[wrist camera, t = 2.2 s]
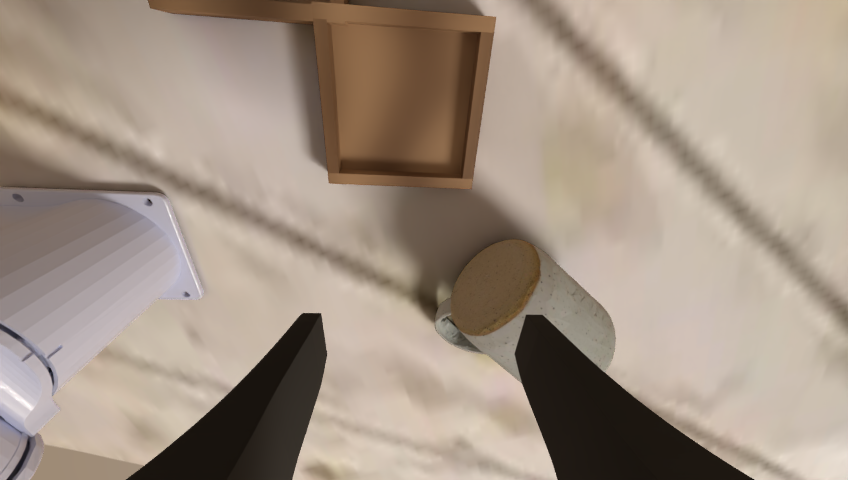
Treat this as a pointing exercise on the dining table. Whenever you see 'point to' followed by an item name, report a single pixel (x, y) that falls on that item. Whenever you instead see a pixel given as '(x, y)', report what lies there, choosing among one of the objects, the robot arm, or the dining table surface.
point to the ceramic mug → (521, 305)
